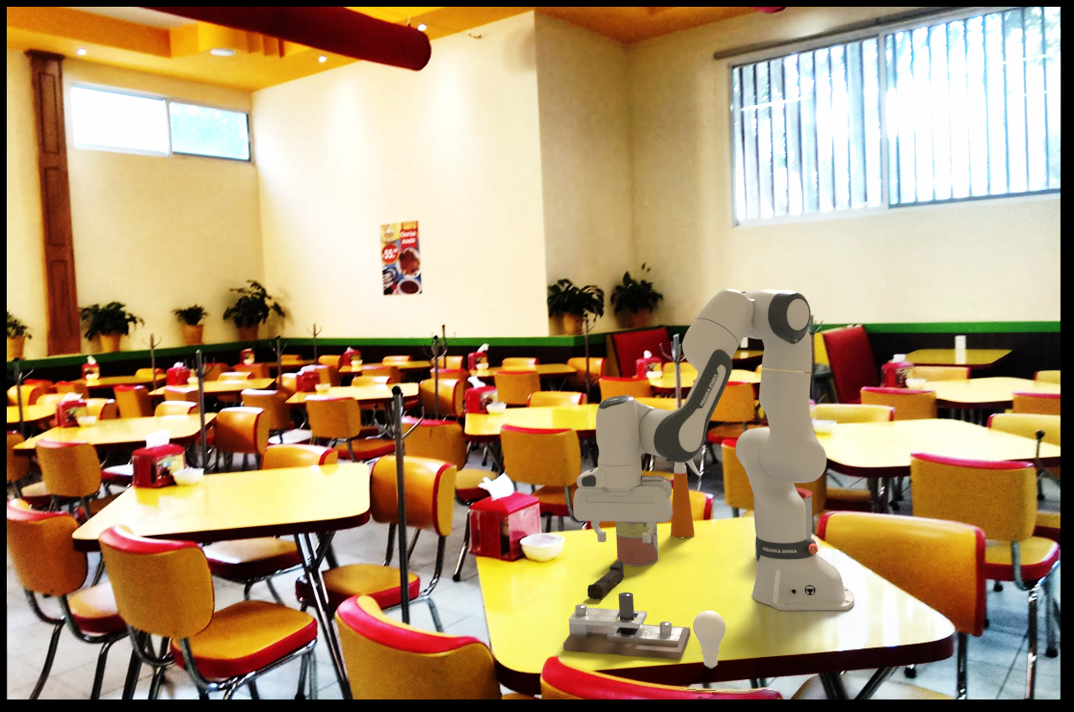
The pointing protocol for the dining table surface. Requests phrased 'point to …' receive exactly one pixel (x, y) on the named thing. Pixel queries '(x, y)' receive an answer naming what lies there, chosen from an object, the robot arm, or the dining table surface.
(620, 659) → the dining table surface
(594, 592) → the hand tool
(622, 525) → the canned food
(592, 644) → the walnut board
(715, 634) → the lightbulb
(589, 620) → the metal clamp fixture
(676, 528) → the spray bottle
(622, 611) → the steel pin
